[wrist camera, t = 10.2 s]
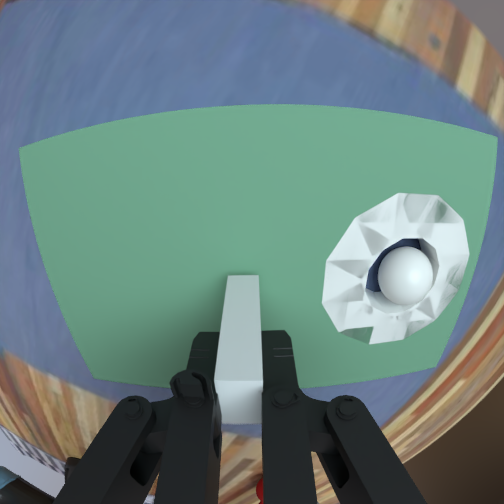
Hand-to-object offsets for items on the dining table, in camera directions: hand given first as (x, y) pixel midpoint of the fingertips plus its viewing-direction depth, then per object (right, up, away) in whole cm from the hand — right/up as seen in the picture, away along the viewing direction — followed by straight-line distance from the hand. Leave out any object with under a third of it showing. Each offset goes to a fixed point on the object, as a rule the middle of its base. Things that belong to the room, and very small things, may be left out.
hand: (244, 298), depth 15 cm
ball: (+10, +1, +1) cm, 10 cm away
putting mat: (+1, +2, +3) cm, 4 cm away
